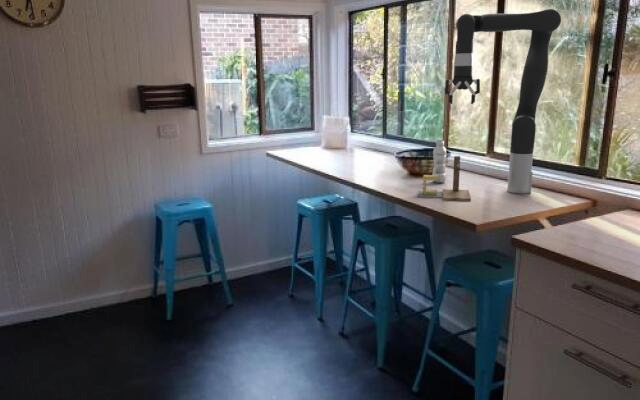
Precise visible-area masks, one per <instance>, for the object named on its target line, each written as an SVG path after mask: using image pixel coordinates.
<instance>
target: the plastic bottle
mask: <svg viewBox="0 0 640 400" xmlns="http://www.w3.org/2000/svg"><path fill="white" fill-rule="evenodd" d="M435 145H436V146H435V147H434V149H433V150H432V156H433V170H432V173H431V175H438V181H436V180H432V182H433V183H437V184H441V183H445V182H446V179H447V174H446V160H447V149H446V147H445V140H436V141H435Z"/></svg>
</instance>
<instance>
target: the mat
mask: <svg viewBox="0 0 640 400" xmlns="http://www.w3.org/2000/svg"><path fill="white" fill-rule="evenodd" d="M417 198H424V199H425V198H427V199H429V198H430V199H443V191H437V195H423V190H418V191H417Z"/></svg>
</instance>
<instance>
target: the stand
mask: <svg viewBox="0 0 640 400" xmlns="http://www.w3.org/2000/svg"><path fill="white" fill-rule="evenodd" d="M460 171H461V156H460V155H454V157H453V174H452V175H453V176H452V189H447V188H442V201H447V202H449V201H450V202H451V201H453V202H471V201H472V198H471V194H470V190H469V189H460V173H461V172H460Z"/></svg>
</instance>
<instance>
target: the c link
mask: <svg viewBox="0 0 640 400" xmlns="http://www.w3.org/2000/svg"><path fill="white" fill-rule="evenodd" d="M433 180H436V181H438V175H432V174H423V177H422V191H423V195H437V192H438V189H427V181H433Z"/></svg>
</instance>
